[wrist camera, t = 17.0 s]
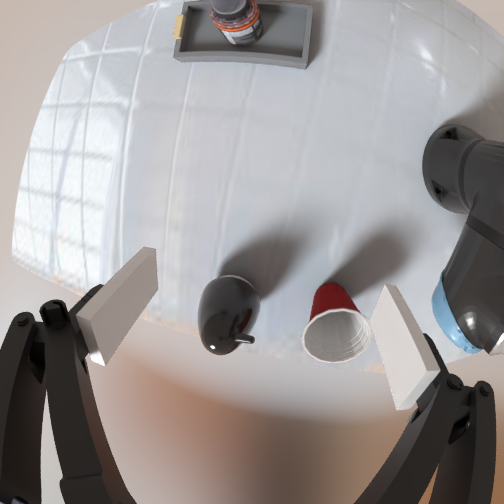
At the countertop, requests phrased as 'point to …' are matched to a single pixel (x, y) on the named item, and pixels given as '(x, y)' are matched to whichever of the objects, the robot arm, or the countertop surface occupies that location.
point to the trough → (261, 52)
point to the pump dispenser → (227, 314)
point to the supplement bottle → (237, 20)
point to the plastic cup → (335, 327)
